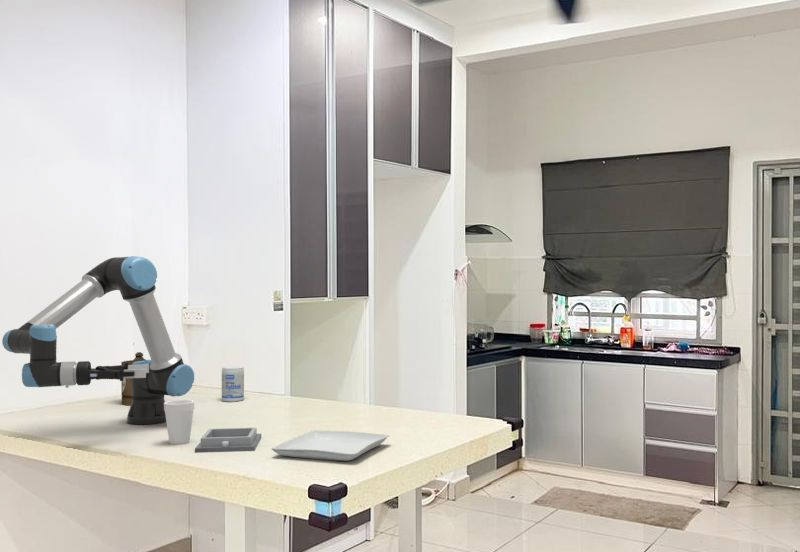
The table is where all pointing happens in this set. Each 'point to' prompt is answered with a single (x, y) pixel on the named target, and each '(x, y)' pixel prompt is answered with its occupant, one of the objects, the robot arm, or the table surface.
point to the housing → (229, 440)
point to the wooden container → (129, 381)
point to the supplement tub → (232, 383)
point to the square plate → (330, 445)
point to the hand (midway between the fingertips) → (147, 370)
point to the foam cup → (179, 420)
